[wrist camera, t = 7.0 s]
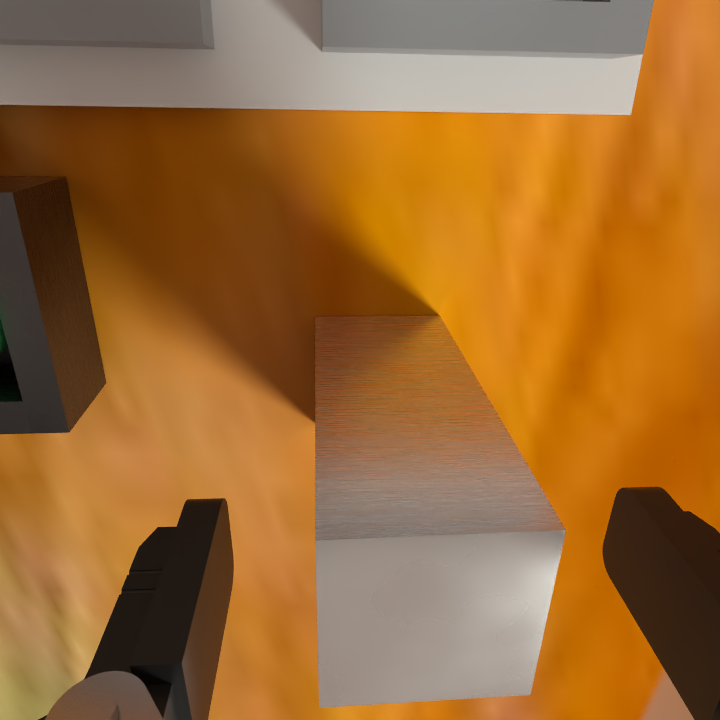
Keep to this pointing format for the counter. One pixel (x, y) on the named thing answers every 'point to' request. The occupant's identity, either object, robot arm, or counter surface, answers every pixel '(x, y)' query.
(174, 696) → the robot arm
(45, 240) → the button housing
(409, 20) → the grey socket board
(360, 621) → the block
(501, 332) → the counter surface
